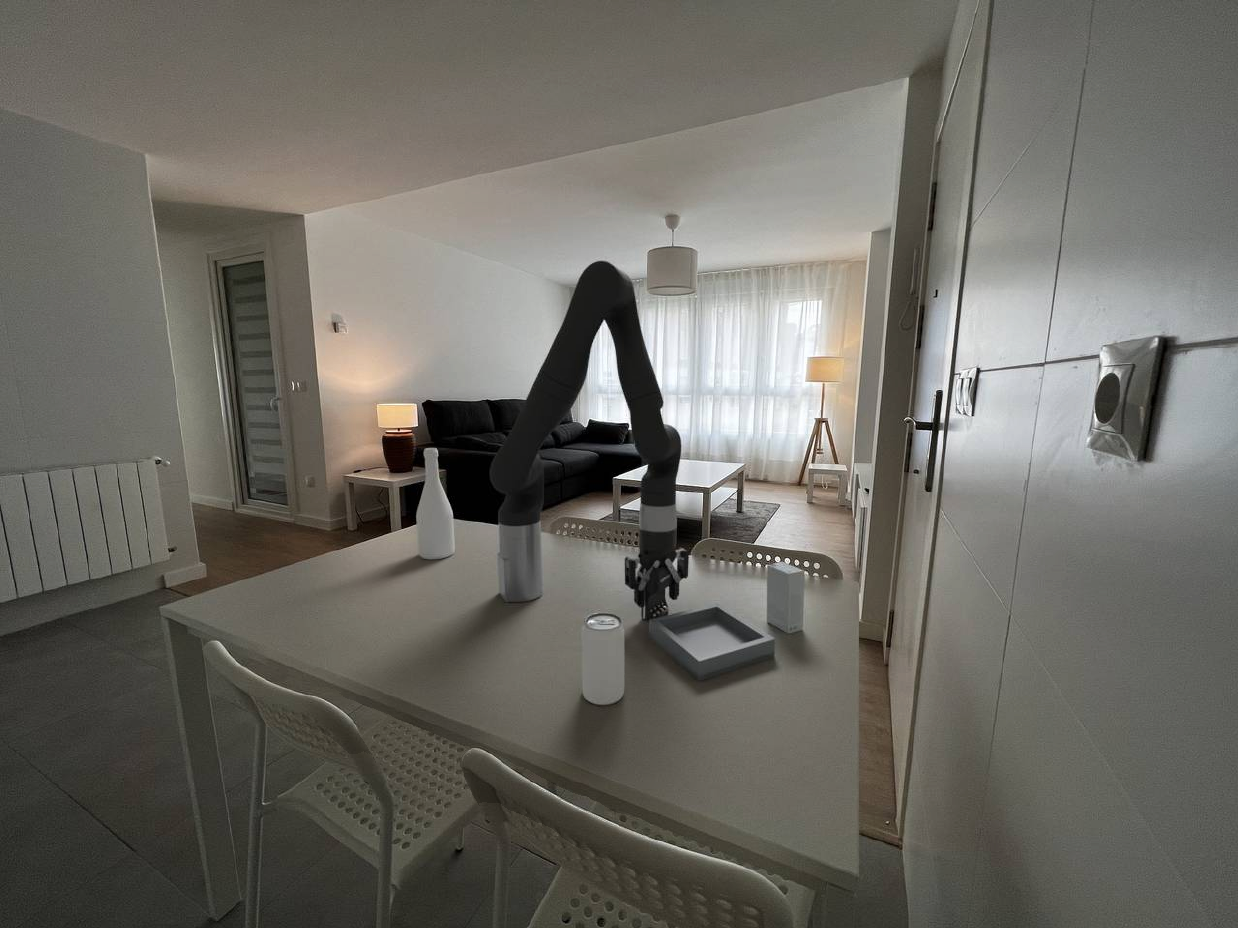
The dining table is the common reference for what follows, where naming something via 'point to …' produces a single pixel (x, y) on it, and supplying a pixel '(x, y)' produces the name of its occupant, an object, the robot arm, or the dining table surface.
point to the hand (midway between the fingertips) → (656, 602)
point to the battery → (656, 592)
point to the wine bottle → (434, 514)
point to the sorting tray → (711, 640)
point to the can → (603, 659)
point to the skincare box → (785, 597)
